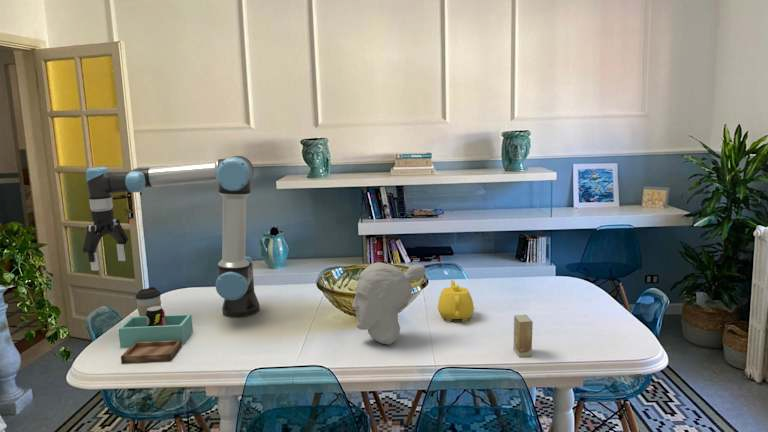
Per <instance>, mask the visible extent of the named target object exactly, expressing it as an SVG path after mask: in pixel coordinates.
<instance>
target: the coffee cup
mask: <svg viewBox="0 0 768 432" xmlns="http://www.w3.org/2000/svg"><path fill="white" fill-rule="evenodd" d="M161 295H162V294H161V291H160V290H158V289H157V288H156V287H154V286H150V287H148V288H143V289H140V290H138V292H136V294H135V300H136V306H137V313H138V317H140V316H146V312H147V308H149V307H152V306H162V301H161Z"/></svg>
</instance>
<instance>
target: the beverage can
mask: <svg viewBox="0 0 768 432" xmlns="http://www.w3.org/2000/svg"><path fill="white" fill-rule="evenodd" d="M165 315H166V313H165V310H164V309H163V307H162V305H161V306H152V307H149V308H147V312H146V322H147V326H166V322H165Z"/></svg>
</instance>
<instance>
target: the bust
mask: <svg viewBox="0 0 768 432" xmlns="http://www.w3.org/2000/svg"><path fill="white" fill-rule="evenodd" d="M425 274H426V267H425V266H424V265H423V264H418V263H416V264H412V265H411V266H409V267H408V268H407V270H406V271H403V270H402V269H400V268H399V267H397V266H395V265H392V264H388V263H385V262H378V261H377V262H375V263H372V264H370V265H368V266H367V267H365V268H364V269H363V270H362V271H361V273H360V275H359V276H358V280H357V282H356V288H355V296H354V299H353V301H352V304H351V307H352V308H353V310H355V313H354V314H355V317H356V319H357V320H356V325H355V326H356V328H357V329H358V330H362V331H364V330H367V333H368V335H370V338H371V339H373V340H374V341H377V342H379V343H380V344H383V345H392V343H394V342H395V341H397V339H398V338H399V335H400V332H401V326H400V323H399V311H400V309H401V308H403V307H404V306H405V305H406V304H407V303H408V301H409V299H411V296H412V292H413V287H412V281H419V280H421V279H423V278H424V276H425Z"/></svg>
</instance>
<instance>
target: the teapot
mask: <svg viewBox="0 0 768 432" xmlns="http://www.w3.org/2000/svg"><path fill="white" fill-rule="evenodd" d="M437 309H438V313H439V315H440V316H441V317H442V318H445V322H449V323H450V322H453V320H455V319H456V320H457V319H458V320H461V321H462V322H468V321H469V319H468V318H472V316H473V314H474V311H475V308H474V301H473V298H472V296H471V294H470V292H469V290H468V288H466V287H462V286H460V285H456V282H455V280H454V279H451V280H450V287H445V288H443V289H442V291H441V293H440V295H439V298H438V304H437Z"/></svg>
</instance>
